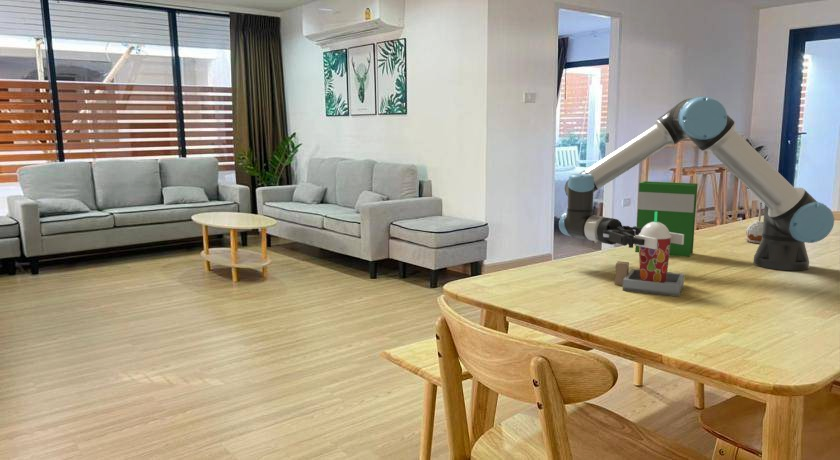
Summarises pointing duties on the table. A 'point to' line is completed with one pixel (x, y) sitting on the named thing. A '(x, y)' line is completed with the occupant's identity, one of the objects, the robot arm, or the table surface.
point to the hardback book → (669, 211)
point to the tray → (636, 285)
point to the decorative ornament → (755, 230)
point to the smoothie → (655, 252)
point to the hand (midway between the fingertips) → (669, 241)
